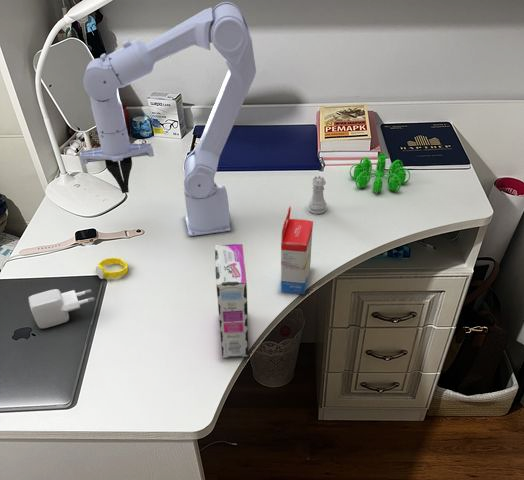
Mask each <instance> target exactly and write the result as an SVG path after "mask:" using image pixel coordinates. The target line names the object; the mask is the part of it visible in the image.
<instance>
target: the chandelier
mask: <svg viewBox="0 0 524 480" xmlns="http://www.w3.org/2000/svg"><path fill="white" fill-rule="evenodd" d="M387 158H388V155H387V154H385V153H378V154H377V162H376V168H375V169H376V170H375V169H373V165H372V161H371V158H369V157H367V156H363V157H361V158H360V160H359V163H354V164H353V165H352V166H351V167H350V169H349V176H350V178H351V179H353V180H354V181H355V186H356V188H358V189H364V188H366V187H367V186H368V184H369V182H370V181H371V179H372V178H374V177H375V178H374V181H373V183H372V184H373V185H372V191H373V192H375V194H378V193H380V192H381V191H382V189H383V179H382V178H384V179H385V180H387V187H388V189H389V190H390V191H391V192H392V193H393V192H394V193H396V192H398V191H399V190H400V189H401V187H402V185H406V184H407V183H408V182H409V181H410V179H411V172H410V170H409V169H408V168H406V167H404V163H403V161H402V160H400V159H396V160H394V161H393V162H392V163H391V164H390V166H389V168H388V170H386V171H385V169H386V164H387V162H386V161H387ZM353 168H354V169H353ZM352 169H353V175H352V172H351V171H352ZM372 171H373V172H372ZM407 173H408V179H407V180H406V177H407ZM371 175H372V176H371ZM386 176H388V177H386Z"/></svg>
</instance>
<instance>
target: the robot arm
mask: <svg viewBox="0 0 524 480" xmlns="http://www.w3.org/2000/svg"><path fill="white" fill-rule="evenodd" d="M211 44H212V45H213V47H214V49H215V50H216V51H217V53H218V54H219V55H220V56H221V57H222V58H223V59H224V61H225V64H226V66H227V69H228V71H227V72H226V75H225V78H224V80H223V82H222V85H221V87H220V90H219V93H218V95H217V97H216V99H215V103H214V105H213V107H212V110H211V112H210V114H209V116H208V119H207V123H206V125H205V127H204V129H203V132H202V133H201V137H200V140H199V141H198V142H197V143H196V144H195V146H194V149H193V150H192V151H191V152H190V153H189V154H188V155H187V156H186V157H185V158H184V162H183V168H184V180H183V194H184V200H185V201H184V202H185V208H186V216H184V220H185V223H186V228H187V233H188V236H189V237H195V236H202V235H207V234H209V235H210V234H215V233H223V232H224V233H225V232H230V231H231V222H230V216H231V215H230V205H229V199H228V198H229V196H228V192H227V188H226V186H225V185H217V183H216V182H215V176H216V173H217V171H218V168H219V167H218V166H219V161H220V157H221V154H222V153H223V149H224V148H225V145H226V143H227V142H228V141H227V140H228V138H229V136H230V134H231V131H232V129H233V127H234V124H235V122H236V120H237V118H238V115H239V113H240V111H241V109H242V107H243V104H244V103H245V100H246V98H247V95H248V93H249V91H250V89H251V86H252V84H253V82H254V79H255V77H256V74H257V68H256V60H255V54H254V53H255V52H254V47H253V39H252V36H251V33H250V28H249V24H248V22H247V20H246V18H245V16H244V15H243V12H242V10H241V9H240V7H239V6H237V5H236V4H235V3H233V2H230V1H223V2H220V3H218V4H216V5H215V6H214V7H213V8H212V7H208V8H205V9H203V10H201V11H200V12H198V13H196V14H195V15H193V16H191V17H189V18H187V19H185V20H184V21H183V22H181V23H179V24H177V25H175V26H174V27H172V28H171V29H169V30H167V31H165V32H164V33H162V34H160V35H159V36H157V37H155V38H153V39H152V40H151V41H148V42H144V41H141V40H139V39H135V40H133V41H131V39H126V40H124V41H123V42H122V47H120V48H118V49H116V50H114V51H112V52H111V53H109V54H107V53H105V52H104V53H102V54H101V55H100V57H98V58H93V59H92V60H90V61H89V62H88V64H87V66H86V69H85V72H84V74H83V77H82V79H83V80H82V85H83V89H84V91H85V92H86V94H87V95H88V97H89V100H90V104H91V110H92V115H93V120H94V123H95V128H96V132H97V136H98V140H99V145H100V146H99V147H94V148H91V149H86V150H82V151H79V158H80V162H81V164H82V165H88V163H95V162H105V169H106V170H107V171H108V172H109V173H110V174H111V175H112V177H113V178H114V179H115V181H116V183H117V184H118V186H119V188H120V191H121V193H122V194H128V193H130V191H129V180H130V175H131V171H132V168H133V158H139V157H147V156H148V158H150V157H154V156H155V155H154V148H153V144H152V143H151V142H150V143H135V142H134V143H132V142H131V143H130V138H129V133H128V128H127V123H126V119H125V113H124V108H123V103H122V101H121V98H120V93H119V88H125V87H126V86H129V85H131V84H132V83H135V82H136V81H139V80H141V79H142V78H144V77H147V76H148V75H150V74H152V73H153V72H154V68H155V65H156V63H157V62H159V61H162V60H164V59H166V58H168V57H170V56H173V55H175V54H177V53H179V52H182V51H184V50H186V49H189V48H191V47H193V46H195V47H199V48H202V49H204V50H207V51H211Z"/></svg>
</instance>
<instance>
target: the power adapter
mask: <svg viewBox="0 0 524 480" xmlns="http://www.w3.org/2000/svg"><path fill="white" fill-rule="evenodd" d="M92 292H93V291H92V289H89V288H88V289H85V290H82V291H78V292H76V290H75V289H71V290H69V291H65V292H61V290H60V289H58V288H54V289H49V290H46V291H42V292H37V293H35V294H32V295H30V296H28V305H29V308H30V311H31V314H32V316H33V318H34V321H35V323H36V325H37V328H39V329H48V328H51V327H55V326H58V325H61V324H65V323H67V322H69V321H70V314H69V312H72V311H75V310H79V309H81V305H83V304H85V303H90V302H94V301H95V297H93V296H91V297H87V298H85V299H81V300H79V299H78V297H80V296H81V297H82V296H84V295H88V294H92Z"/></svg>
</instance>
